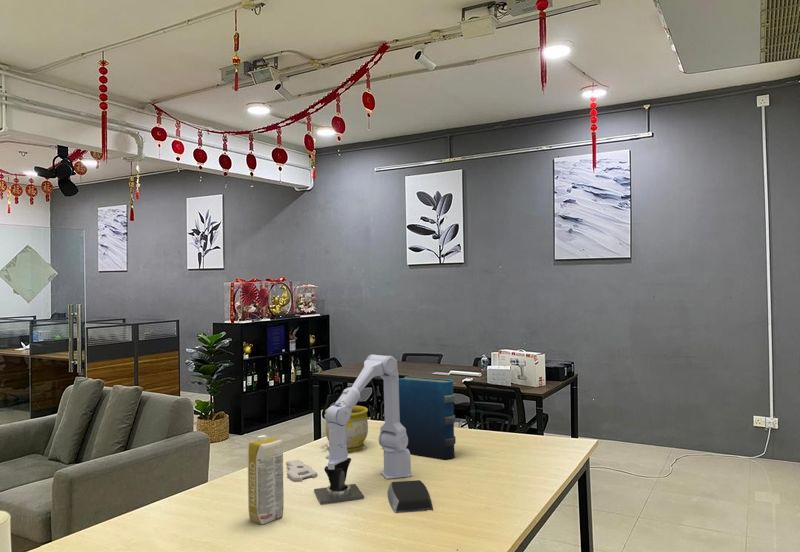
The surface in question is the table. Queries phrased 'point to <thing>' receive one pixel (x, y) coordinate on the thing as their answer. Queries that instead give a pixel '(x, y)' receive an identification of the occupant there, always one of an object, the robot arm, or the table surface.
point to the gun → (299, 470)
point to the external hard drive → (409, 496)
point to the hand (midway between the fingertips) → (338, 485)
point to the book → (428, 416)
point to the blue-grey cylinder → (341, 482)
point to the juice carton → (265, 479)
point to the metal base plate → (338, 494)
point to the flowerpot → (355, 429)
